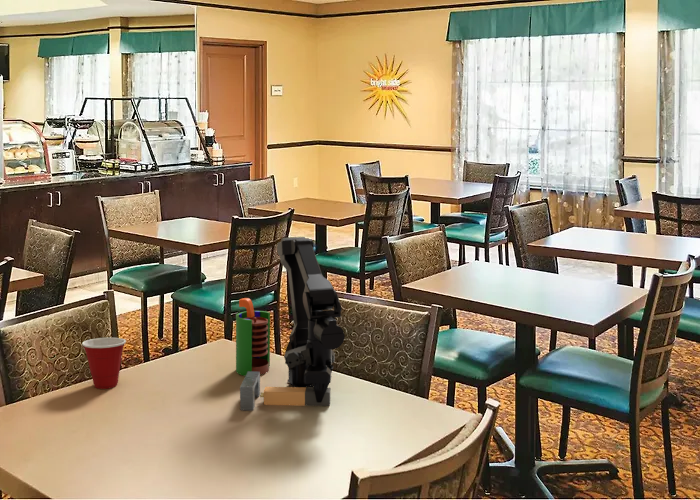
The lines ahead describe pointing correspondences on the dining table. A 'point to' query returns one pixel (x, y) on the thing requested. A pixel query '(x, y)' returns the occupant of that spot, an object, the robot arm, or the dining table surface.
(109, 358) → the plastic cup
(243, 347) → the green tall cylinder
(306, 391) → the plug
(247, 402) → the housing
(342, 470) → the dining table surface
